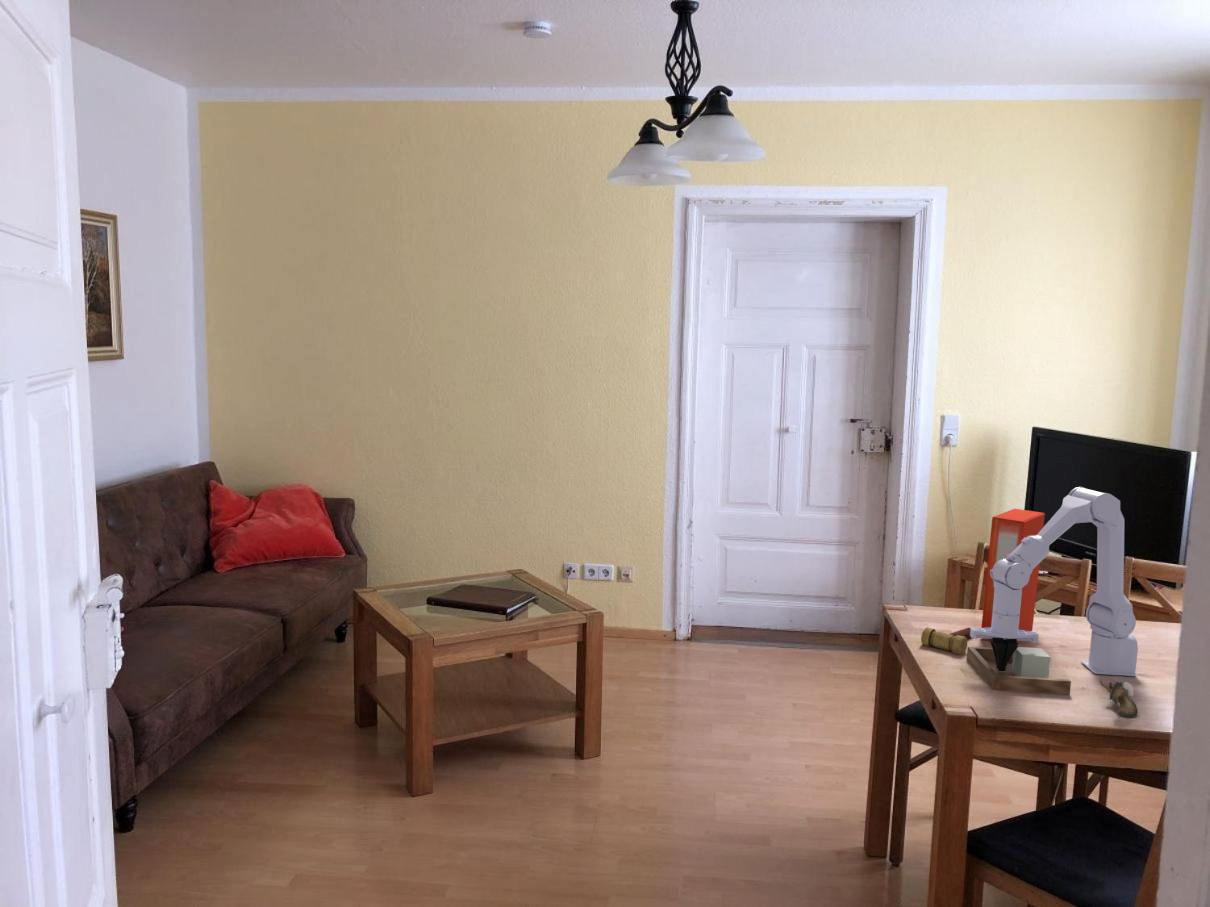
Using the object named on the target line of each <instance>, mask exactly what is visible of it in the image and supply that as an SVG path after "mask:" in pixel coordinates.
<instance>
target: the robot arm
mask: <svg viewBox="0 0 1210 907" xmlns="http://www.w3.org/2000/svg"><path fill="white" fill-rule="evenodd" d="M1081 523H1083V524H1084V523H1092V524H1093V525H1094V526H1096V530H1097V531H1096V532H1097V538H1096V539H1097V540H1096V542H1097V543H1096V545H1097V546H1096V548H1097V549H1096V554H1097V555H1096V592H1094V593H1093V594H1091V595H1090V597H1089V603H1088V606H1087V608H1086V610H1085V611H1086V612H1085V617H1086V618H1085V619H1086V620H1087V622H1088V624H1089V625H1090V626H1089V628H1090V629H1091V635H1090V643H1089V644H1090V645H1089V654H1088V660H1081V664H1083V666H1085V667H1086V668H1088V670H1090V671H1091V672H1092V673H1093V674H1096V675H1107V676H1109V675H1111V676H1126V677H1127V676H1128V677H1137V676H1138V674H1137V673H1136V672H1137V671H1136V670H1137V662H1138V660H1137V659H1138V651H1139V648H1138V646H1139V644H1138V641H1137V639H1136V637H1135V635H1133V634H1132V633H1133V632H1134V630H1135V628H1136V624H1137V619H1136V616H1135V615H1134V614H1135V613H1134V612H1133V611H1134V609H1133V604H1132V603H1131V602H1130V600H1129V599H1128V598H1127V596H1126V595H1125V593H1124V582H1125V579H1124V578H1125V576H1124V575H1125V573H1124V572H1125V571H1124V570H1125V569H1124V568H1125V517H1124V515H1123V513H1122V511H1121V500H1120V499H1118V497H1115V496H1114V495H1112V494H1111V493H1107V492H1101V491H1096V490H1093V489H1088V488H1085V487H1083V486H1078V487H1074V488H1073V489H1071V490H1070V491H1069V493H1068V494H1067V495H1066V496H1065V497H1063V499H1062V504H1061V506H1060V508H1059V509H1058V510H1057V511H1056V512H1055V513H1054V514H1053V516H1052V517H1051V518H1050V520H1048V521H1047V523H1046V524H1045V525H1044V526H1043V528H1042V530H1041V531H1040V532H1039V533H1038V534H1037V535H1036V536H1028V537H1027V538H1024V539H1023V540H1022V541H1021V542H1022V543H1021V544H1020V545H1019V546H1018V547H1017V548H1016V549H1015V550H1014V551H1013V552H1012V553H1011V554H1009V555H1008V556H1007V558H1006V559H1003V560H999V561H998V562H996V563H995V564H994V566H993V569H992V570H990V575H991V577H992V579H993V581H994V587H995V590H994V601H993V613H992V624H991V627H990V628H981V627H977V628H976V627H970V628H971V629H970V636H971V637H970V638H971V639H973V640H977V639H982V638H985V639H989V641H988V642H989V644H990V645H991V648H993V651H994V655H995V660H996V662H995V666H996V670H997V671H998V672H1006V670H1007V667H1008V664H1009V663H1008V662H1009V660H1010V658H1011V656H1012V655H1013V653H1014V652H1015V651H1016V649H1017V648H1018V647H1019V643H1018V642H1019V641H1020V642H1021V641H1023V642H1032V643H1036V644H1037V643H1039V633H1038V632H1037V631H1024V630H1018V627H1019V617H1020V606H1021V595H1022V587H1024V586H1025V585H1027V583H1028V582H1029V579H1030V574H1031V573H1032V571H1033V569H1034V568H1035V567H1036V566H1037V565H1038V564H1039V565H1040V563H1041V562H1043V560H1044V559H1045V558H1046V557H1047V556H1048V555H1049V553H1050V545H1051V544H1052V543H1054V542H1055V541H1056V540H1057V539H1058V538H1060V537H1061V536H1062V535H1063V534H1064V533H1065V532H1066V531H1068V530H1069V529H1070V528H1071V527H1072V526H1074V525H1075V524H1081ZM1017 640H1019V641H1017Z"/></svg>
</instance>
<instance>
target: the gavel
mask: <svg viewBox="0 0 1210 907" xmlns="http://www.w3.org/2000/svg"><path fill="white" fill-rule="evenodd" d="M971 628H972V627H966V628H963V629H960V630H957V631H954V632H951V633H946V632H941V631H936V629H935V628H930V627H927V626H926V627H925V628H924V629H923V631H922V633H921V636H920V642H921V645H922V646H924V647H925V646H926V647H929V646H930V647H934V648H937V649H941V650H944V651H948V652H952V653H953V654H957V655H964V654H965V653H966V652H967V648H968V639H970V638H971V636H970V629H971Z"/></svg>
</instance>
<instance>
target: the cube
mask: <svg viewBox="0 0 1210 907" xmlns="http://www.w3.org/2000/svg"><path fill="white" fill-rule="evenodd" d="M1011 665H1012V666H1011V672H1012V673H1013V674H1014V676H1022V677H1039V678H1050V677H1049V676H1050V665H1051V656H1050V655H1049V654H1048V653H1047V652H1046V651H1044V650H1043V649H1042V648H1041V647H1025V646H1018V648H1017V649H1016V651H1015V652H1014V653H1013V663H1011Z"/></svg>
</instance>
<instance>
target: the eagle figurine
mask: <svg viewBox="0 0 1210 907" xmlns="http://www.w3.org/2000/svg"><path fill="white" fill-rule="evenodd" d="M1098 682H1099V684H1100V685H1101V687H1103V688H1105V689H1106V690H1107V692H1109V701H1108V703H1107V705H1106V707H1105V708H1106V709H1108V708H1111V707H1113V706H1114V705H1115V704H1117V703H1118V706H1119V707H1118V710H1117V712H1116V716H1119V717H1120V718H1123V719H1127V720H1128V719H1134V718H1137V717H1138V714H1139V711H1138V707H1137V704H1136V703H1135V702H1134V701H1133V699H1131V698H1130V697H1133V696H1134V687H1133V685H1132V684H1131V683H1130V682H1128V681H1124V682H1122V681H1120V682H1119V681H1116V682H1115V683H1114V684H1113V683H1112V681H1110V682H1109V683H1108V686H1107V685H1106V684H1105V683H1104V682H1103V681H1102V680H1101V679H1098Z"/></svg>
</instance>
